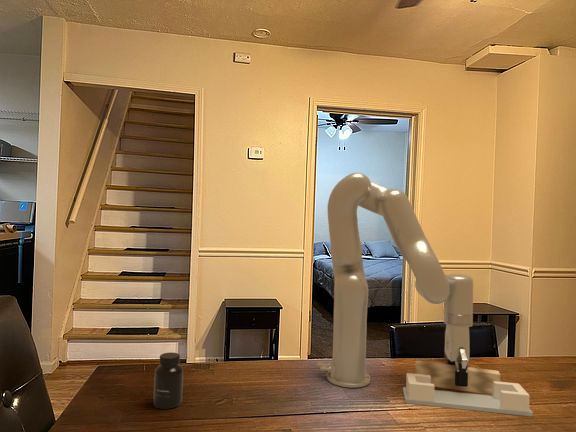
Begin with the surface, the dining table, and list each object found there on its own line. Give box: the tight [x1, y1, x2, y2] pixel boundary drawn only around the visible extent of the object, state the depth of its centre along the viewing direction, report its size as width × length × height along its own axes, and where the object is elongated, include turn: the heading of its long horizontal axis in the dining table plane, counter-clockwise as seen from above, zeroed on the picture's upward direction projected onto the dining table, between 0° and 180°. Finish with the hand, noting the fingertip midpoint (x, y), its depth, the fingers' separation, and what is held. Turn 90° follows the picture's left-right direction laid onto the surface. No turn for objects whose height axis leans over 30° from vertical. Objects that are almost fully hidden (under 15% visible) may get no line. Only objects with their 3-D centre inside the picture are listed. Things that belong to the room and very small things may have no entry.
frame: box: [402, 372, 534, 418], centre depth 109 cm, size 30×8×5 cm, turn 79°
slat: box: [414, 360, 501, 396], centre depth 118 cm, size 22×3×6 cm, turn 72°
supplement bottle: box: [153, 352, 184, 410], centre depth 103 cm, size 7×7×12 cm
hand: (457, 379), depth 118 cm, fingers open, 9 cm apart
